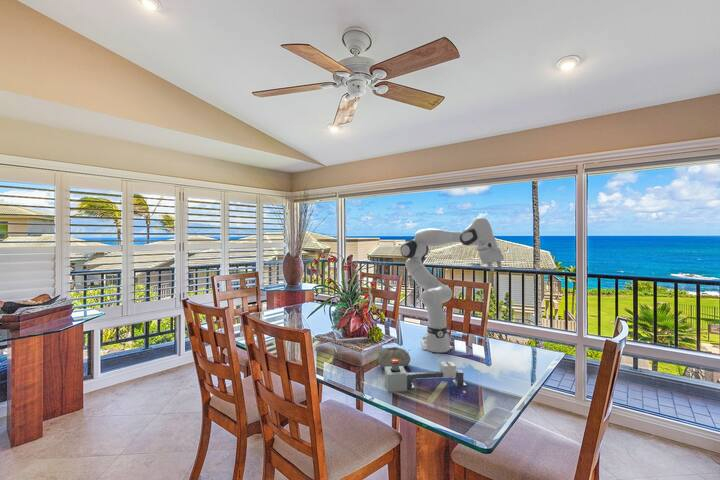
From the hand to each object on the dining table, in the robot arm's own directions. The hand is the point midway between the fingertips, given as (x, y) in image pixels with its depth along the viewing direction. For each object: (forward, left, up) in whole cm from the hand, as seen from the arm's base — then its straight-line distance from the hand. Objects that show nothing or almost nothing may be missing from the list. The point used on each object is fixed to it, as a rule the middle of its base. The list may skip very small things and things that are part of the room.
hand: (496, 270), depth 175 cm
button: (+18, -59, -46) cm, 77 cm away
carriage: (+18, -34, -48) cm, 61 cm away
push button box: (+18, -59, -52) cm, 81 cm away
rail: (+18, -41, -52) cm, 69 cm away
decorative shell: (-5, -56, -52) cm, 77 cm away
